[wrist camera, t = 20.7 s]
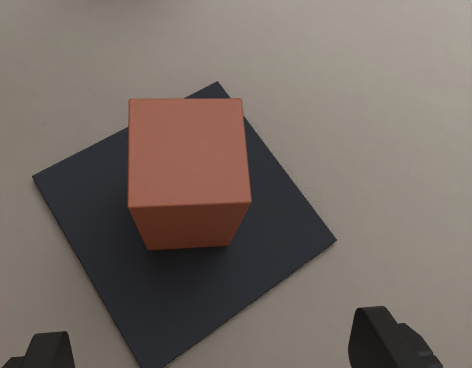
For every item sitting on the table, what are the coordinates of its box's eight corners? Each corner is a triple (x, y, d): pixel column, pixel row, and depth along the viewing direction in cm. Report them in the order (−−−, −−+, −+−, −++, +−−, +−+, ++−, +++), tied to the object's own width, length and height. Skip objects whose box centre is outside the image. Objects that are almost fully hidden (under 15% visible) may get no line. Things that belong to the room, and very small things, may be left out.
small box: (223, 171, 26) (241, 97, 18) (229, 246, 25) (252, 202, 16) (146, 173, 26) (128, 98, 17) (147, 250, 24) (127, 207, 16)
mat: (334, 241, 26) (337, 240, 26) (147, 377, 22) (147, 379, 22) (217, 84, 29) (217, 80, 29) (34, 178, 25) (31, 175, 25)
